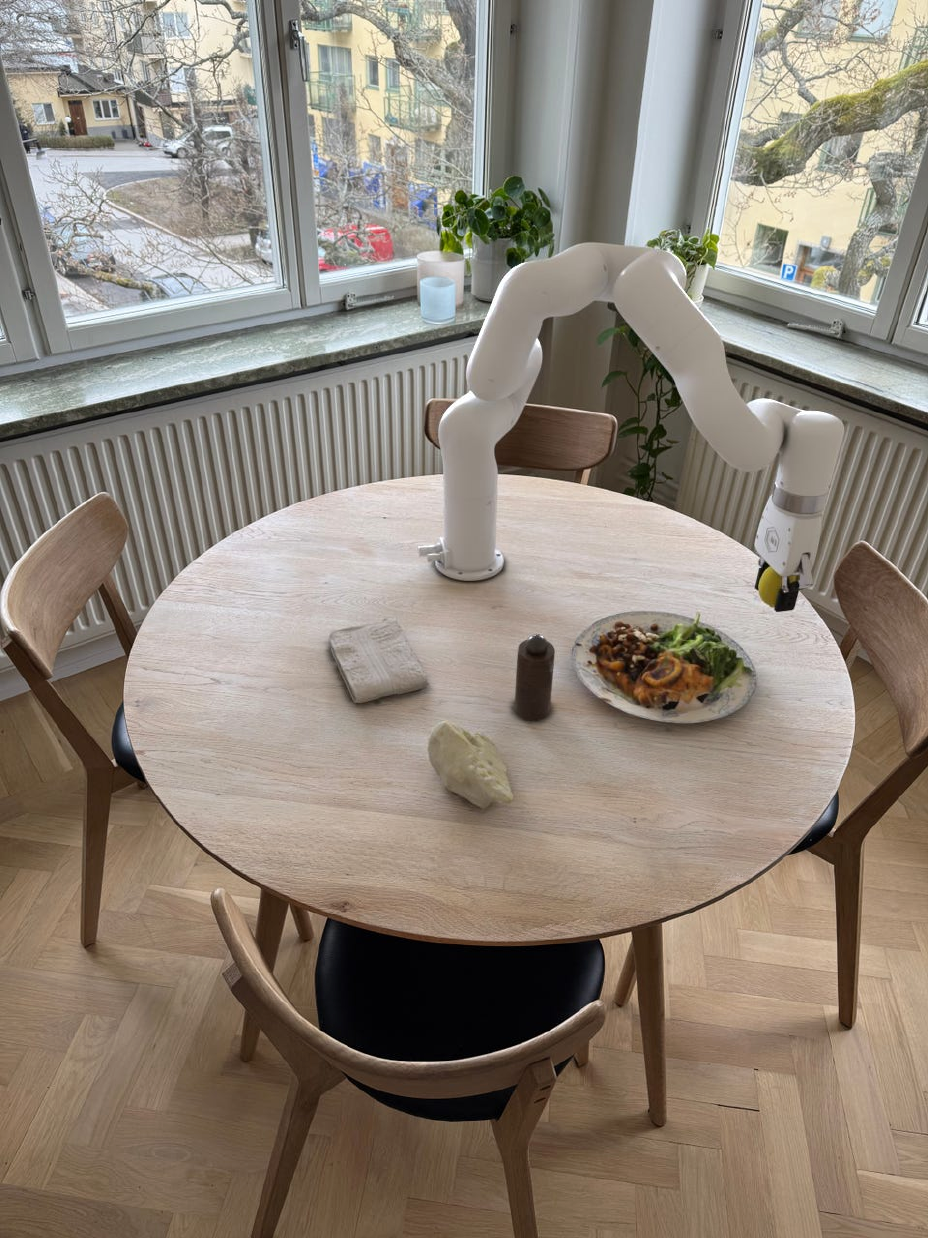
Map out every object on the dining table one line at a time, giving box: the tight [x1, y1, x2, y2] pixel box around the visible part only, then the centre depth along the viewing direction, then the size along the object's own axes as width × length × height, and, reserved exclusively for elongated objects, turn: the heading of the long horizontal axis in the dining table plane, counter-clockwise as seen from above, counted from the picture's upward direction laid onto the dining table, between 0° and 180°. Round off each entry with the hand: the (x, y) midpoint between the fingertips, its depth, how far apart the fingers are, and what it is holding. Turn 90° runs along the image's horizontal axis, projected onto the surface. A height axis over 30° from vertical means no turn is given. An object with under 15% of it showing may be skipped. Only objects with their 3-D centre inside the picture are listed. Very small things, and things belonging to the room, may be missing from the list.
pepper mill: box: [514, 633, 556, 722], centre depth 129 cm, size 5×5×13 cm
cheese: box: [427, 719, 515, 810], centre depth 117 cm, size 15×7×15 cm
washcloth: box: [328, 618, 430, 704], centre depth 140 cm, size 12×18×3 cm, turn 22°
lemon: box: [758, 566, 796, 609], centre depth 141 cm, size 6×6×8 cm
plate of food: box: [571, 610, 758, 724], centre depth 138 cm, size 28×28×6 cm
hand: (773, 598), depth 143 cm, fingers closed on lemon, 5 cm apart
